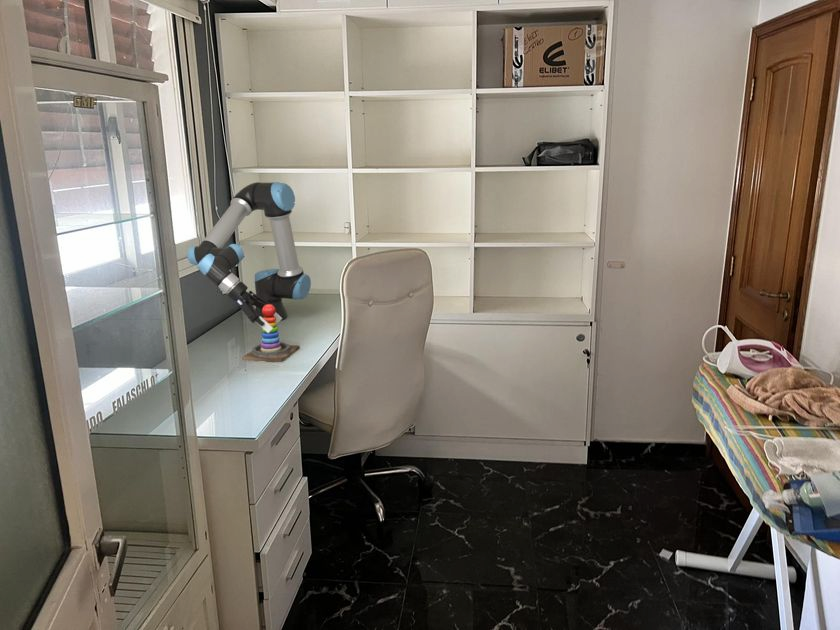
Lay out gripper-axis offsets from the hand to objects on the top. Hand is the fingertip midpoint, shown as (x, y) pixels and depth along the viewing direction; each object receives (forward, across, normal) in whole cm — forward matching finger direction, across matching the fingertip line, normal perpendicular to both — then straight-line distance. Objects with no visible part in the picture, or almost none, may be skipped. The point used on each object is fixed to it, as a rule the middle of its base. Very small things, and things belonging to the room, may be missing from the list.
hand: (275, 325), depth 248 cm
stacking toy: (+6, 0, -9) cm, 11 cm away
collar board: (+7, 0, -10) cm, 12 cm away
